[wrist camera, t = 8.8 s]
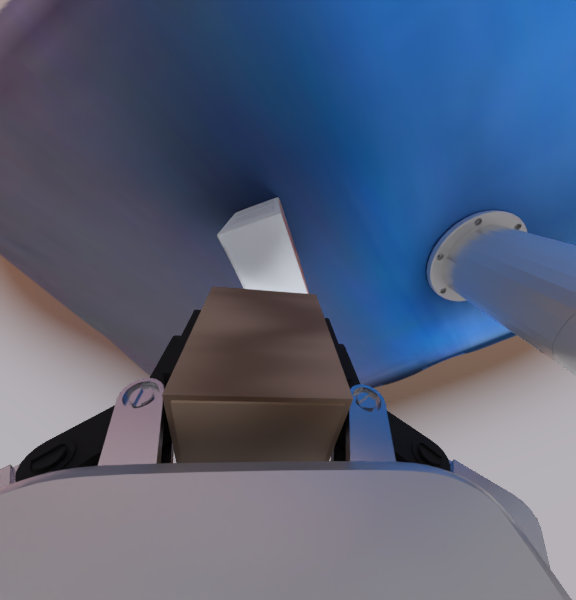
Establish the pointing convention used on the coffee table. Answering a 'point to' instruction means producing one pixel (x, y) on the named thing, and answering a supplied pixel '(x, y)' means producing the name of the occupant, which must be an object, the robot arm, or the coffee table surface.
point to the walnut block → (257, 381)
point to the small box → (263, 249)
